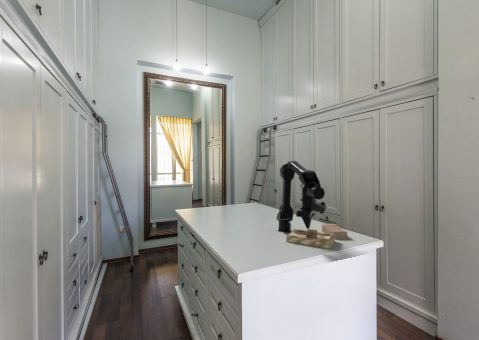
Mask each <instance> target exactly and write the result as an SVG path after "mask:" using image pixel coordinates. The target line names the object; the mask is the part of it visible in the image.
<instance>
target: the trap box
mask: <svg viewBox="0 0 479 340" xmlns="http://www.w3.org/2000/svg"><path fill="white" fill-rule="evenodd" d="M306 231H307V230H303V229H297V228H293V231H292V232H290V233H289V234H286V235H285V240H286V241H285V242H288V243H295V244H299V245H303V246H304V245H305V246H311V247H317V248H322V249H329V250H330V249H331V248H332V247H333V245H334V243H335V242H336V239H335V233H333V234H326V233H324V232H318V231H317V239H313V238H307V237H306Z"/></svg>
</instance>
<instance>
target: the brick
mask: <svg viewBox="0 0 479 340" xmlns="http://www.w3.org/2000/svg"><path fill="white" fill-rule="evenodd" d="M321 231H322V233H326V234H333V233H335V240H348V236H349V235H348V231H347V230H345V229H343V228H341V227H340V226H338V225H337V224H335V223H325V224H324V223H322V225H321Z"/></svg>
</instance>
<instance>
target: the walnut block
mask: <svg viewBox="0 0 479 340" xmlns="http://www.w3.org/2000/svg"><path fill="white" fill-rule="evenodd" d="M305 231H306V237H307V238H313V239H317V232H318V229H311V228H309V229H307V230H305Z"/></svg>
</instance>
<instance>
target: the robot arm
mask: <svg viewBox="0 0 479 340" xmlns="http://www.w3.org/2000/svg"><path fill="white" fill-rule="evenodd" d="M279 174H280V177H281V180H282V195H281V196H282V197H281V205H280V206H279V209H278V212H277V214H276V221H278V229H277V231H279V232H284V233H289V232H290V231H291V230H292V223H291V222H293V219H294V209H293V208H292V206H291V192H292V181H293V179H294V178H295V175H297V176H298V180H299V181H300V182H301V184H300V187H301V198H300V201H301V206H300V209H299V210H297V211H296V213H295V216H296V217H298V218H301V219H302V221H303V223H304V225H305V228H306V229H307V230H308V229H311V223H312V220H313V217H314V216H316V213H313V212H317V213H318V212H319V213H320V214H325V213H326V210H327V208H328V206H327V204H326V202H324V201H321V202H317V200H318V201H319V200H322V199H324V197H325V194H326V192H325V190H324V188H323V187H321V186H322V185H321V181H320V180H319V177H318V175H317V173H316V172H315V171H314V170H312V169H307V168H305V167H303V166H302V165H301V164H300V163H299V162H298V161H297V160H290V161H288V162H286V163H285V164H283V165H281V167H280V168H279Z"/></svg>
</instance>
